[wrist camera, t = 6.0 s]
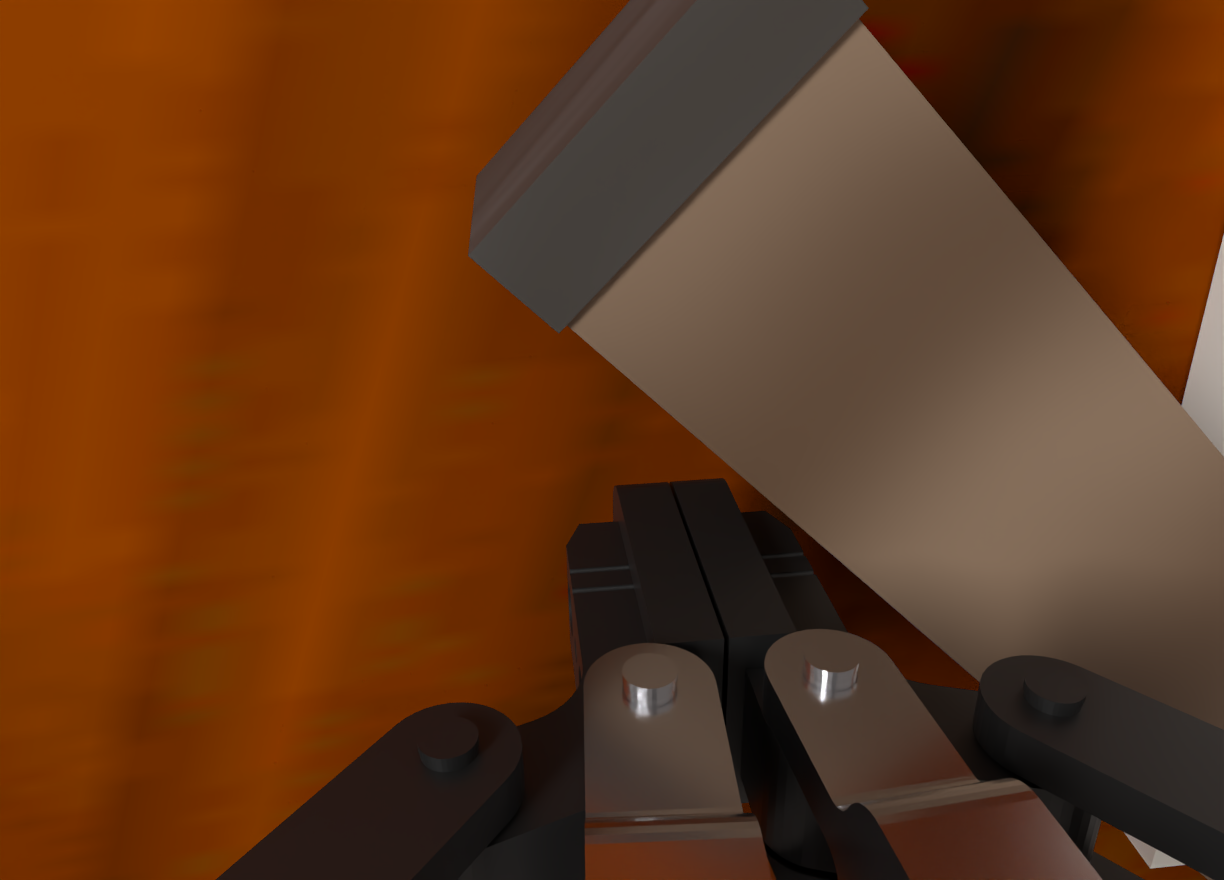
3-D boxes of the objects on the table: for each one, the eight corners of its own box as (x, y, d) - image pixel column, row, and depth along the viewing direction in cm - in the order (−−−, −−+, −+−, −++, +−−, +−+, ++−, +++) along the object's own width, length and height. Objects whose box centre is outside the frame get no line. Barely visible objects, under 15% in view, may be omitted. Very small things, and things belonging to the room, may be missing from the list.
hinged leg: (476, 175, 13) (466, 270, 9) (695, -74, 12) (798, -101, 8) (1271, 890, 22) (1457, 1112, 18) (1440, 777, 21) (1682, 983, 16)
